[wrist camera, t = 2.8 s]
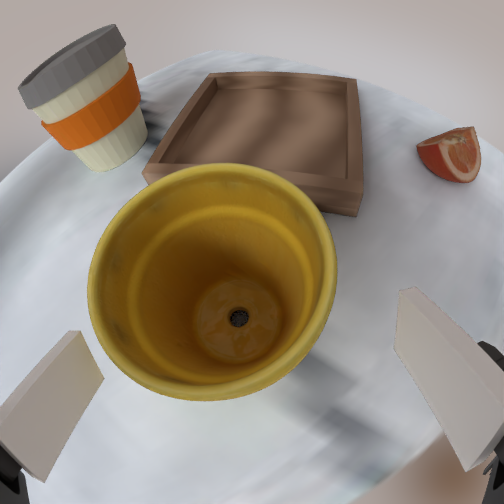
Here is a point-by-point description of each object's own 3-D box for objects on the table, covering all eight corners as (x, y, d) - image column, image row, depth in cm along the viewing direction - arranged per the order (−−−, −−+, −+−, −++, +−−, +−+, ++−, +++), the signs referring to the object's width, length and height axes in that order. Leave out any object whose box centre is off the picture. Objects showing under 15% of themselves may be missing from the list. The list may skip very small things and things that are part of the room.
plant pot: (251, 229, 22) (227, 130, 13) (346, 326, 18) (395, 267, 9) (146, 309, 20) (62, 250, 11) (225, 424, 16) (162, 456, 7)
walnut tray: (154, 193, 25) (141, 173, 23) (214, 91, 33) (209, 73, 30) (356, 217, 21) (363, 193, 19) (354, 99, 29) (356, 79, 26)
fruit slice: (440, 140, 25) (453, 107, 20) (481, 180, 22) (499, 148, 17) (398, 160, 24) (411, 121, 19) (445, 208, 21) (466, 172, 16)
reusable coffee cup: (176, 111, 32) (140, 12, 19) (132, 184, 27) (60, 67, 13) (107, 121, 35) (66, 44, 21) (62, 184, 29) (-1, 103, 16)
